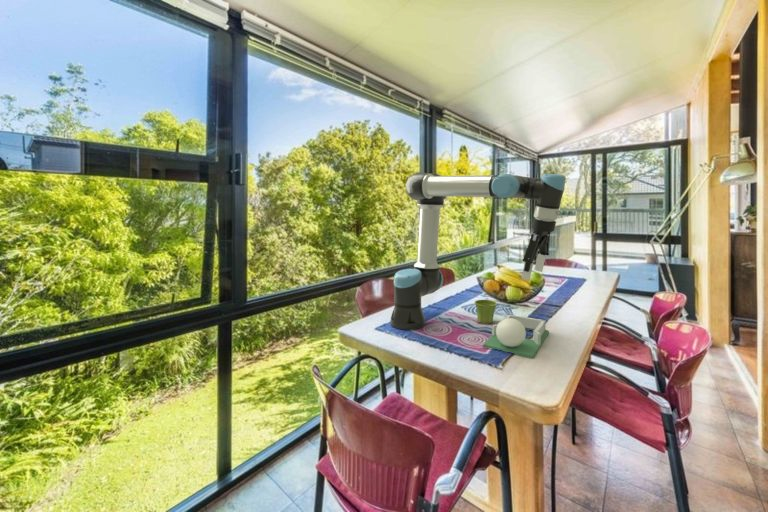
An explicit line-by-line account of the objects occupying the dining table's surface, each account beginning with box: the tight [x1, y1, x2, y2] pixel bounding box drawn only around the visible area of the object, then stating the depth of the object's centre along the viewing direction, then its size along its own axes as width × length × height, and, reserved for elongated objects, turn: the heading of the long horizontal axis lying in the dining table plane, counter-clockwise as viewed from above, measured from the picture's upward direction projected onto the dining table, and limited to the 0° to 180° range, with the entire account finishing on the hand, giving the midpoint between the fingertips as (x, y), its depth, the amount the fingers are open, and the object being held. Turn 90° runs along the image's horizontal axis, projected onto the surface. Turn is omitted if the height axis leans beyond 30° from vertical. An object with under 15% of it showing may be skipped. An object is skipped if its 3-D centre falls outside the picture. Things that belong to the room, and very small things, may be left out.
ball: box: [496, 318, 527, 347], centre depth 121 cm, size 10×10×10 cm
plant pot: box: [474, 299, 498, 325], centre depth 150 cm, size 9×9×9 cm
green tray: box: [482, 313, 550, 359], centre depth 129 cm, size 17×28×5 cm, turn 145°
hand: (532, 275), depth 127 cm, fingers open, 13 cm apart
